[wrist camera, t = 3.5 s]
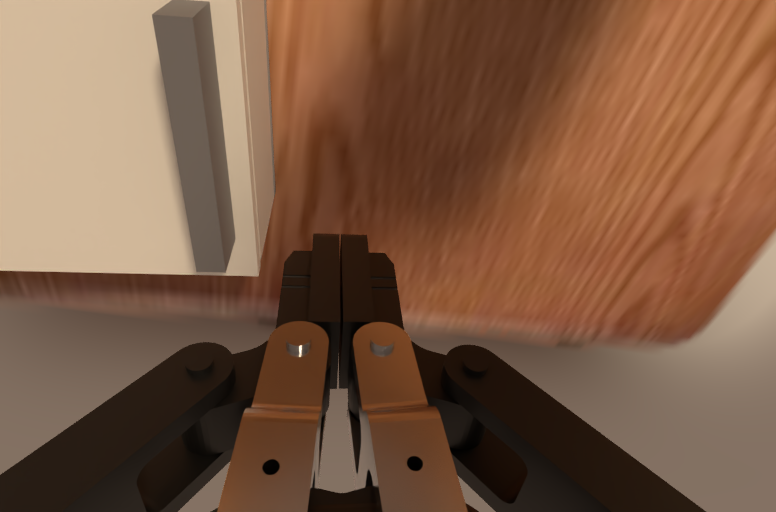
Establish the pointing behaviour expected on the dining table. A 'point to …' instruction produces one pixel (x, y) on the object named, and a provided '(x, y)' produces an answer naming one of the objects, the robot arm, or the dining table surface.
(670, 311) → the dining table surface
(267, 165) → the base
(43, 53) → the lid
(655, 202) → the dining table surface
